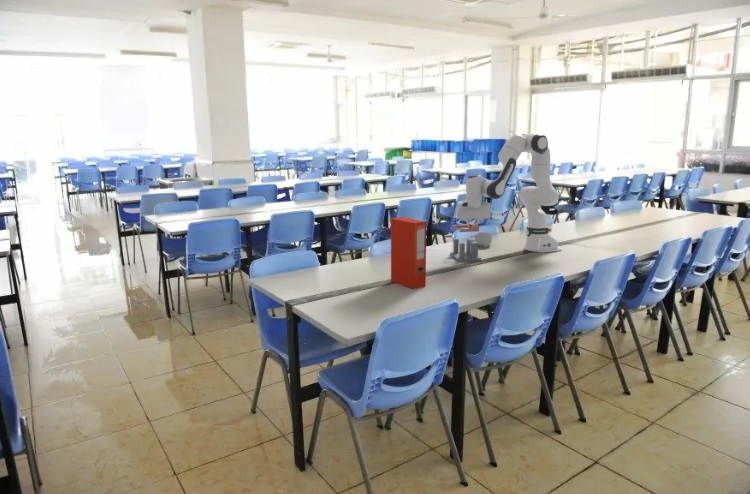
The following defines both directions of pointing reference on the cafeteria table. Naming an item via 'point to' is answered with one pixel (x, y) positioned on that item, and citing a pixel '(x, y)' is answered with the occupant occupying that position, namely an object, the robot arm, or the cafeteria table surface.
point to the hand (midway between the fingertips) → (472, 226)
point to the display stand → (470, 252)
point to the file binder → (408, 252)
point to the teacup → (483, 238)
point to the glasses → (471, 229)
